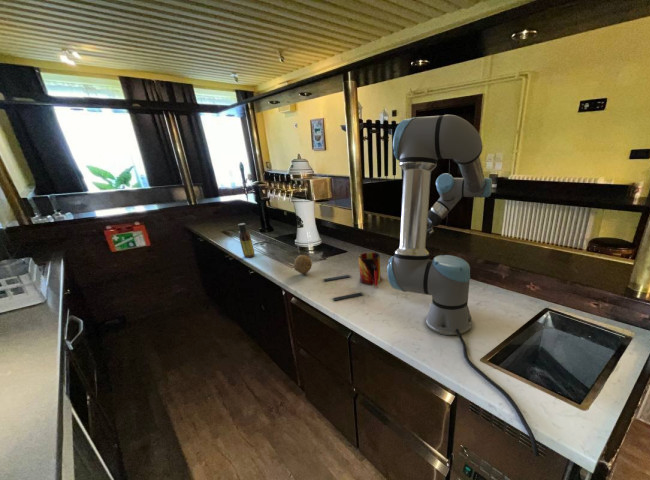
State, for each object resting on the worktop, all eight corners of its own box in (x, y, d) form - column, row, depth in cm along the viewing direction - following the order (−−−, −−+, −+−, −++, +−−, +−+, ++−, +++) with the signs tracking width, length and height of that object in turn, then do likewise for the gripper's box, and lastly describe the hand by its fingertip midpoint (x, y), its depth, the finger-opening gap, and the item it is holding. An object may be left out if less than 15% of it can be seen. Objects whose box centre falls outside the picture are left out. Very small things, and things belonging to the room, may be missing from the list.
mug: (376, 288, 132) (375, 263, 127) (356, 280, 141) (354, 256, 136) (391, 281, 139) (390, 257, 134) (371, 274, 148) (369, 251, 143)
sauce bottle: (246, 255, 185) (238, 222, 177) (256, 254, 186) (248, 222, 177) (242, 258, 179) (234, 225, 171) (253, 257, 180) (245, 224, 172)
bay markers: (362, 295, 127) (362, 294, 127) (334, 301, 123) (334, 300, 123) (348, 275, 148) (348, 274, 148) (324, 279, 144) (324, 279, 144)
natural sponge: (314, 275, 150) (311, 256, 145) (296, 278, 147) (292, 259, 143) (312, 269, 157) (309, 251, 153) (294, 272, 155) (291, 254, 150)
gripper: (448, 222, 134) (414, 263, 136) (434, 217, 145) (403, 255, 148) (438, 212, 130) (403, 254, 133) (424, 207, 142) (392, 246, 144)
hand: (403, 255), depth 140 cm, fingers closed
